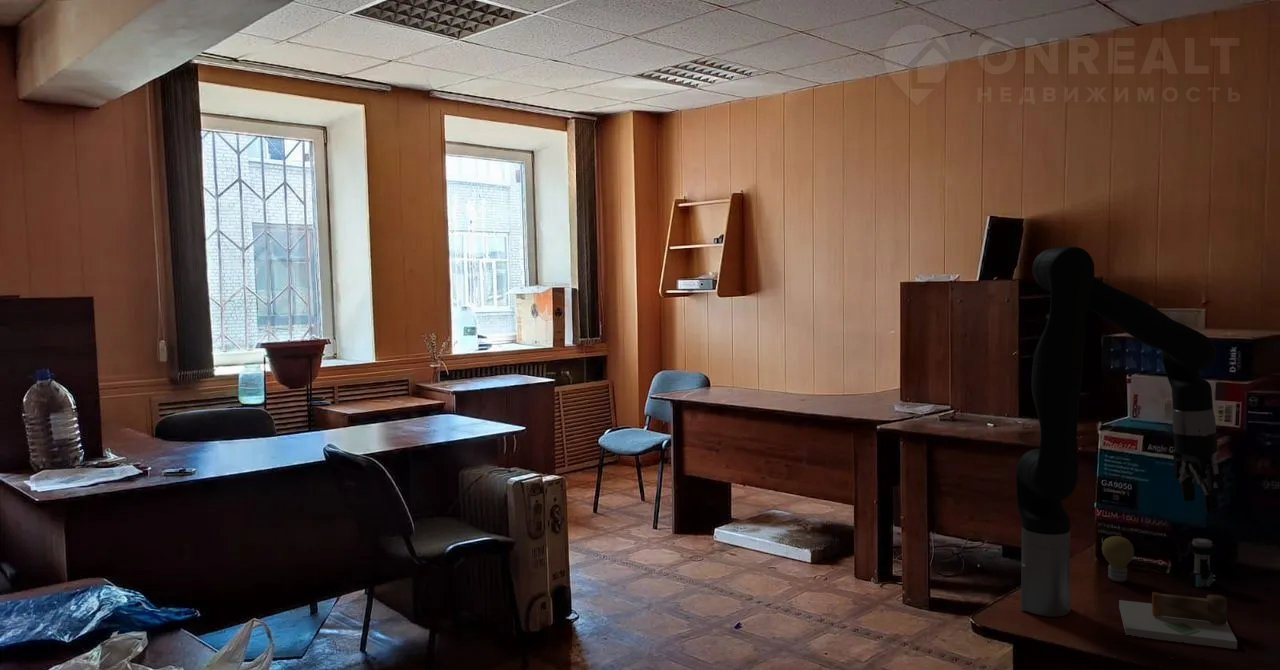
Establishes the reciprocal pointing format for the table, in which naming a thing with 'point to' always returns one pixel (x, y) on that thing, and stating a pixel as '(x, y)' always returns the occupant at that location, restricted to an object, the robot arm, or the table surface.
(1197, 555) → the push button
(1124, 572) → the light bulb
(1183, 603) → the peg lever
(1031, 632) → the table surface
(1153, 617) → the plate
